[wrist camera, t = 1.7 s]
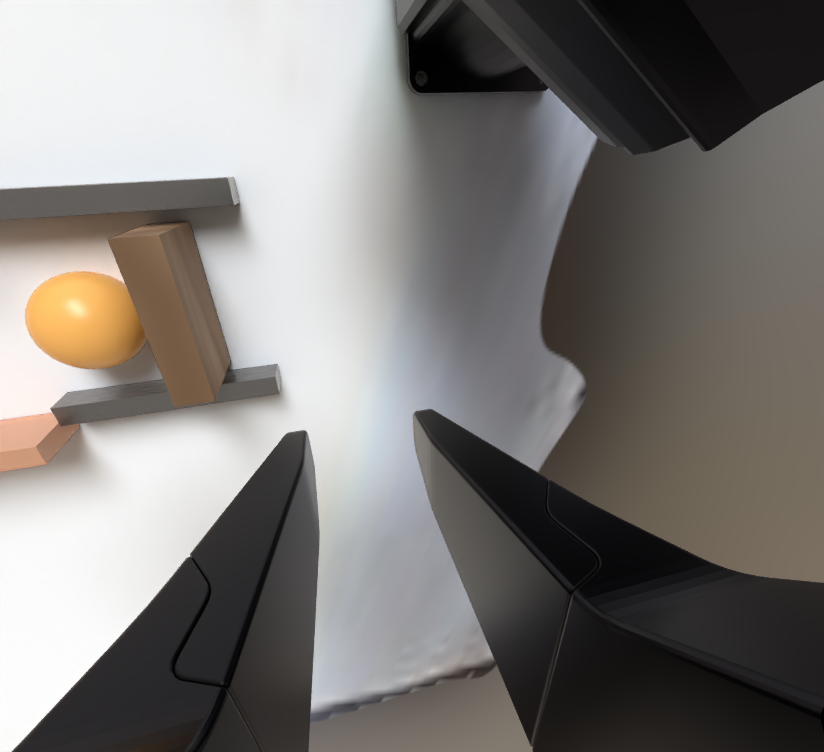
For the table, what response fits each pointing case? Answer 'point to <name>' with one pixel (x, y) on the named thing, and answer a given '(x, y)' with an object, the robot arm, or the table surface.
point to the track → (133, 199)
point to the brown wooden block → (174, 308)
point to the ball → (85, 320)
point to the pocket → (31, 440)
